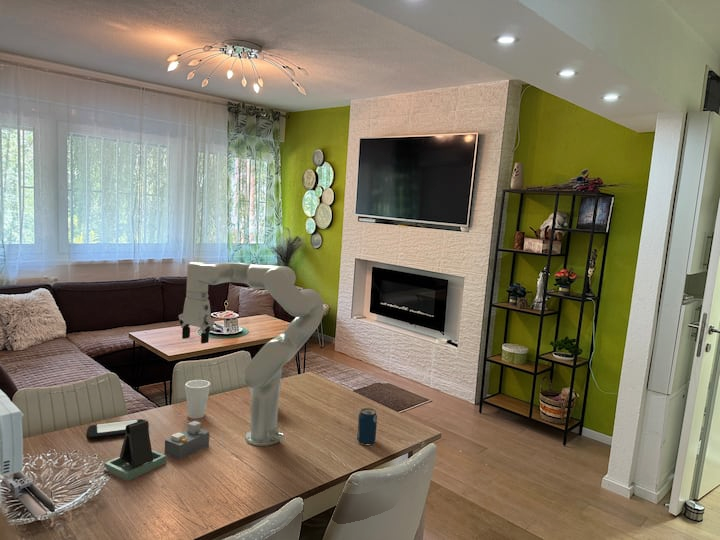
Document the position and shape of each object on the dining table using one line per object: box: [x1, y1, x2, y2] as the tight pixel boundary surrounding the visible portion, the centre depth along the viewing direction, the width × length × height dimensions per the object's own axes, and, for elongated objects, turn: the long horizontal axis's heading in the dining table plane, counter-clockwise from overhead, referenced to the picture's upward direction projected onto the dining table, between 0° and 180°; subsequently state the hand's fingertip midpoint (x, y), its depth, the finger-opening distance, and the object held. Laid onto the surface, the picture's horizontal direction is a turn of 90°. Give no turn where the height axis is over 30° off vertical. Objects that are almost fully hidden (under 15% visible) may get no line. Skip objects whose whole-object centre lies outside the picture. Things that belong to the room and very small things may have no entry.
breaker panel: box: [163, 428, 210, 461], centre depth 167 cm, size 7×13×6 cm, turn 152°
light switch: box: [86, 418, 144, 440], centre depth 177 cm, size 20×3×14 cm
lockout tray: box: [103, 449, 167, 482], centre depth 154 cm, size 11×14×2 cm
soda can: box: [356, 408, 378, 445], centre depth 182 cm, size 7×7×12 cm
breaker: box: [187, 420, 202, 435], centre depth 170 cm, size 3×3×4 cm
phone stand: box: [119, 419, 153, 467], centre depth 153 cm, size 9×6×12 cm, turn 54°
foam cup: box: [184, 379, 211, 419], centre depth 194 cm, size 10×9×13 cm
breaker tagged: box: [170, 432, 185, 442], centre depth 164 cm, size 3×3×4 cm
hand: (195, 340), depth 182 cm, fingers open, 9 cm apart
